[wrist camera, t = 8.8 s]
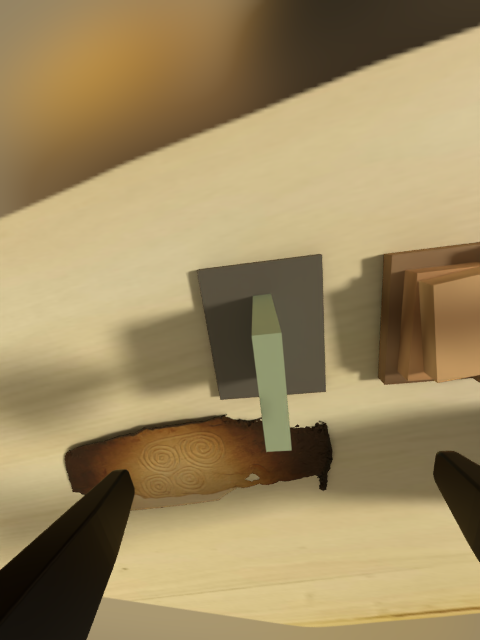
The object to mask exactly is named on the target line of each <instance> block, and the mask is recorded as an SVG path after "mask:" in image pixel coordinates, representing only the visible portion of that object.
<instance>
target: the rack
mask: <svg viewBox="0 0 480 640" xmlns="http://www.w3.org/2000/svg"><path fill="white" fill-rule="evenodd" d="M472 262H480V242H477V243H469V244H461V245H453V246H445V247H437V248H429V249H421V250H412V251H404V252H396V253H388V254H384V265H383V286H382V307H381V328H380V349H379V369H378V378H379V379H380V380H381V381H382V382H383V383H384V385H387V384H400V383H413V382H426V381H434V380H433V379H430V380H417V381H407V380H406V379H405V378H404V377H403V376H402V375H401V374H400V373H399V372H398V371H397V370H398V356H399V343H400V330H401V316H402V303H403V290H404V276H405V270H412V269H420V268H429V267H437V266H446V265H455V264H463V263H472ZM466 378H473V379H475V380H477V381H478V382H480V375H477V376H471V377H466ZM461 379H465V378H461Z"/></svg>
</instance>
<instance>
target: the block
mask: <svg viewBox="0 0 480 640" xmlns="http://www.w3.org/2000/svg"><path fill="white" fill-rule="evenodd" d="M252 343H253V351H254V359H255V367H256V375H257V382H258V390H259V398H260V406H261V414H262V422H263V430H264V438H265V445H266V452H272V451H290V450H292V448H291V436H290V425H289V413H288V402H287V390H286V378H285V367H284V355H283V344H282V333H281V329H280V325H279V322H278V318H277V314H276V311H275V307H274V303H273V300H272V296H271V294H265V295H257V296H253V307H252Z"/></svg>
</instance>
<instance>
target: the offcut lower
mask: <svg viewBox="0 0 480 640" xmlns="http://www.w3.org/2000/svg"><path fill="white" fill-rule="evenodd" d="M476 267H480V262H472V263H463V264H455V265H446V266H437V267H429V268H420V269H412V270H405V276H404V290H403V303H402V316H401V330H400V343H399V356H398V370H397V371H398V372H399V373H400V374H401V375H402V376H403V377H404V378H405V379H406V380H407V381H417V380H430V379H432V378H431V377H429V376H428V375H427V374H426V373H425V372H424V365H423V348H422V331H421V314H420V297H419V281H422V280H426V279H430V278H434V277H438V276H442V275H447V274H451V273H455V272H459V271H463V270H467V269H471V268H476Z"/></svg>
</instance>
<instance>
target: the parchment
mask: <svg viewBox="0 0 480 640" xmlns="http://www.w3.org/2000/svg"><path fill="white" fill-rule="evenodd" d="M225 416H226V415H223V416H222V417H216V418H213V419H210V420H207V421H200V422H189V423H185V424H180V425H171V426H165V427H159V428H156V427H155V428H152V429H148V428H143V429H142V430H140V431H138V432H137V433H135V434H128V435H125V436H124V435H123V436H118V437H115V438H112V439H109V440H106V441H105V442H98V443H94V444H89V445H84V446H81V447H78V448H76V449H73V450H72V451H71V450H69V451H70V452H67V453H66V455H65V461H66V462H65V463H66V470H67V473H68V476H69V480H70V482H71V485H72V489H73V490H72V491H73V492H79V493H81V494H82V495H86V494H87V493H88V492H89V491H90V490H91V489H92V488H94V487H95V486H96V485H97V484H98V483H99V482H100V481H101V480H103V479H104V478H105V477H106V476H107V475H108V474H109V473H111V472H112V471H113V470H118V469H127V470H128V471H129V474H130V476H131V479H132V482H133V485H134V488H135V495H134V499H133V503H132V506H131V510H140V509H149V508H150V509H151V508H159V507H160V508H162V507H171V506H178V505H187V504H194V503H201V502H209V501H214V500H220V499H221V497H223V496H224V495H226V494H227V493H229V492H231V491H233V490H234V489H236V488H237V487H241V488H245V487H250V486H254V485H257V484H259V483H260V484H262V485H269V484H274V483H277V482H278V481H291V480H296V479H301V478H303V477H309V476H313V475H316V476H318V477H317V478H320V480H319V481H320V485H319V487H320V488H319V489H321V490H323V491H324V490H326V487H327V482H328V481H327V474H328V471H329V470H330V464H331V462H332V460H333V458H332V447H331V443H330V438H329V434H328V429H327V425H326V423H325V424H323V425H320V424H319V423H318V422H317V423H316V424H315V427H312V428H310V427H308V426H306V427H305V428H294V427H293V428H290V436H291V448H292V450H290V451H272V452H266V445H265V438H264V430H263V422H262V421H260V419H257V420H253V421H245V420H240V419H239V420H236V419H235V420H234V419H231V418H229V417H225ZM261 419H262V418H261ZM256 421H257V422H256ZM319 422H320V421H319ZM322 423H324V422H322ZM295 427H299V425H296V426H295ZM252 473H253V474H256V475H257V476H259V477H260V479H259V480H254V481H253V482H251V481H249V480H245V479H246V478H247V477H249V475H250V474H252Z"/></svg>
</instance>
